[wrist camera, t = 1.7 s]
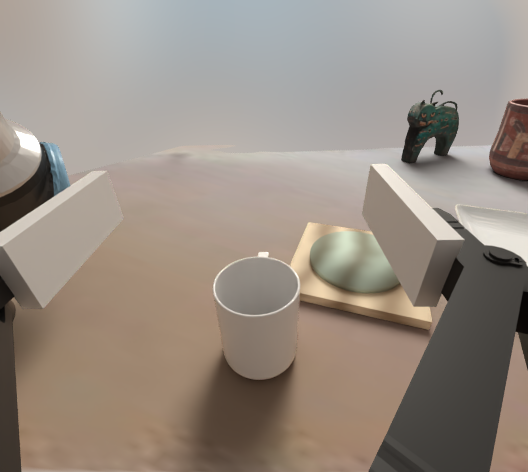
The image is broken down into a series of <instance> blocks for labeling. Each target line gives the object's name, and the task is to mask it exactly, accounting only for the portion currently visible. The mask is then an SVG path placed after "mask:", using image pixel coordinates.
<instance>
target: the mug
mask: <svg viewBox="0 0 528 472" xmlns="http://www.w3.org/2000/svg"><path fill="white" fill-rule="evenodd" d="M213 296H214V302H215V307H216V313H217V318H218V324H219V330H220V335H221V341H222V346H223V352H224V356H225V359H226V361H227V363H228V364H229V366H230V367H231V368H232V369H233V370H234V371H235V372H236V373H238V374H239V375H241V376H243V377H245V378H249V379H253V380H265V379H270V378H273V377H275V376H278V375H279V374H281V373H282V372H284V371H285V370H286V369H287V368H288V367H289V366H290V365H291V363H292V362H293V360H294V358H295V355H296V351H297V340H298V321H299V301H300V280H299V277H298V275H297V273H296V272H295V271H294V270H293V269H292V268H291V267H290V266H289V265H287V264H286V263H284V262H282V261H280V260H277V259H274V258H269V252H259V254H258V257H249V258H244V259H240V260H237V261H235V262H233V263H231V264H229V265H227V266H226V267H225V268H223V269H222V270H221V271H220V272H219V273H218V275H217V276H216V278H215V280H214V283H213Z"/></svg>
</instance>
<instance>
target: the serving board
mask: <svg viewBox="0 0 528 472" xmlns="http://www.w3.org/2000/svg"><path fill="white" fill-rule="evenodd" d="M290 267H291V268H292V269H293V270H294V271H295V272H296V273H297V275H298V277H299V280H300V301H304V302H309V303H313V304H317V305H322V306H326V307H331V308H335V309H339V310H344V311H348V312H352V313H357V314H361V315H365V316H370V317H374V318H378V319H383V320H387V321H391V322H396V323H400V324H405V325H409V326H413V327H418V328H422V329H426V330H429V328H430V326H431V324H432V318H431V313H430V307H413V305H412V303H411V301H410V300H409V298H408V296H407V294H406V292H405V291H404V289H403V287H402V285H401V283H400V282H399V280H398V278H397V276H396V274H395V273H394V271H393V269H392V267H391V265H390V264H389V262H388V260H387V258H386V256H385V255H384V253H383V251H382V249H381V247H380V246H379V244H378V242H377V240H376V238H375V237H374V235H373V233H372V231H365V230H358V229H351V228H344V227H337V226H330V225H324V224H317V223H310V222H308V225H307V227H306V229H305V232H304V234H303V236H302V239H301V241H300V243H299V246H298V248H297V250H296V253H295V255H294V257H293V259H292V262H291V264H290Z"/></svg>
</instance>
